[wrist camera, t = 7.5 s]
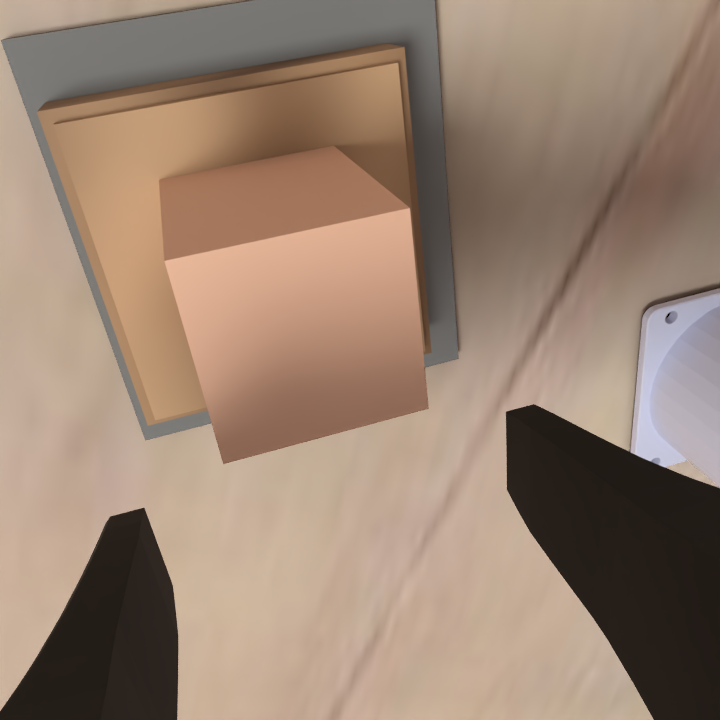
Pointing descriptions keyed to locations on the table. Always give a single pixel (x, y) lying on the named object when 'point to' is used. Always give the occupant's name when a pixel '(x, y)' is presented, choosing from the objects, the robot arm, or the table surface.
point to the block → (295, 298)
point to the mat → (239, 50)
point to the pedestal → (206, 152)
